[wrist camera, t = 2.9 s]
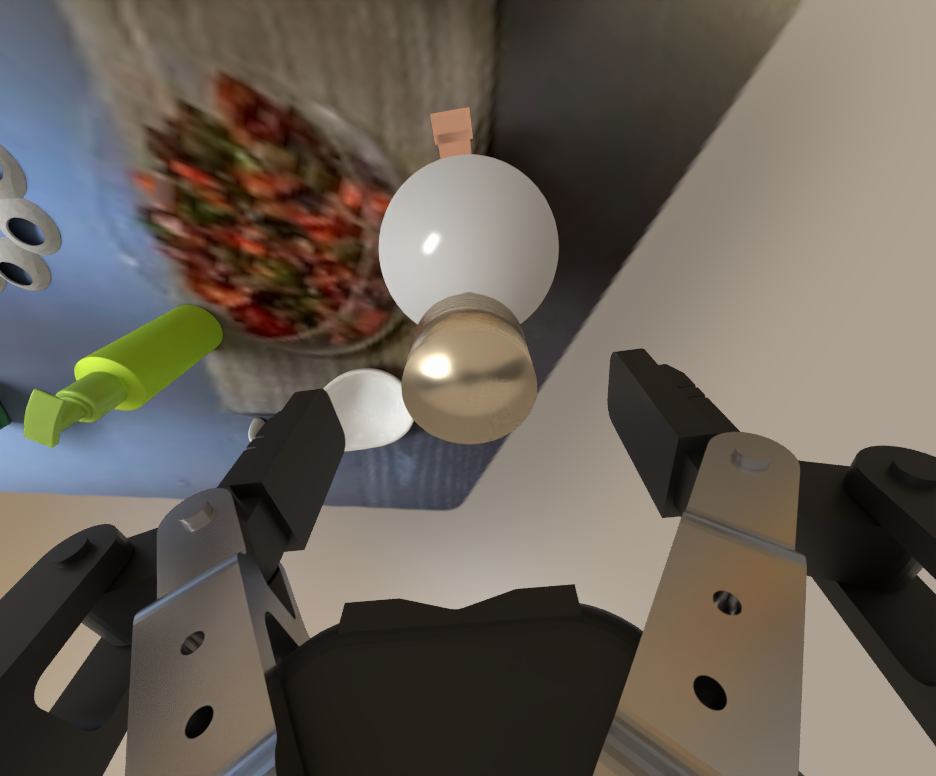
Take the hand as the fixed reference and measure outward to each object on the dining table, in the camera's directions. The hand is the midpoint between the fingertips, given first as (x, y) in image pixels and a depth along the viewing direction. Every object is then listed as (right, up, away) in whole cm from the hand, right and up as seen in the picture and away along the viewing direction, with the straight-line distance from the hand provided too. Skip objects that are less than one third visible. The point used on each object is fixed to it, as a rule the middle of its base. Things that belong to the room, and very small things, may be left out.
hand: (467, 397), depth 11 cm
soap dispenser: (-33, +8, +35) cm, 48 cm away
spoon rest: (-18, -2, +42) cm, 46 cm away
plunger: (0, +4, +7) cm, 8 cm away
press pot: (0, +19, +27) cm, 33 cm away
